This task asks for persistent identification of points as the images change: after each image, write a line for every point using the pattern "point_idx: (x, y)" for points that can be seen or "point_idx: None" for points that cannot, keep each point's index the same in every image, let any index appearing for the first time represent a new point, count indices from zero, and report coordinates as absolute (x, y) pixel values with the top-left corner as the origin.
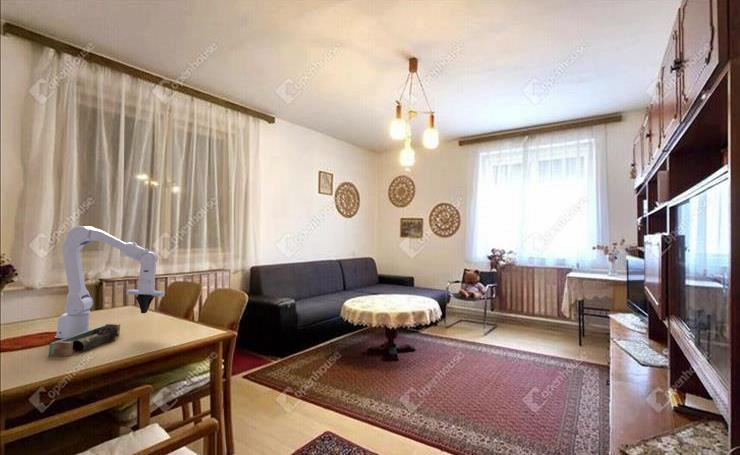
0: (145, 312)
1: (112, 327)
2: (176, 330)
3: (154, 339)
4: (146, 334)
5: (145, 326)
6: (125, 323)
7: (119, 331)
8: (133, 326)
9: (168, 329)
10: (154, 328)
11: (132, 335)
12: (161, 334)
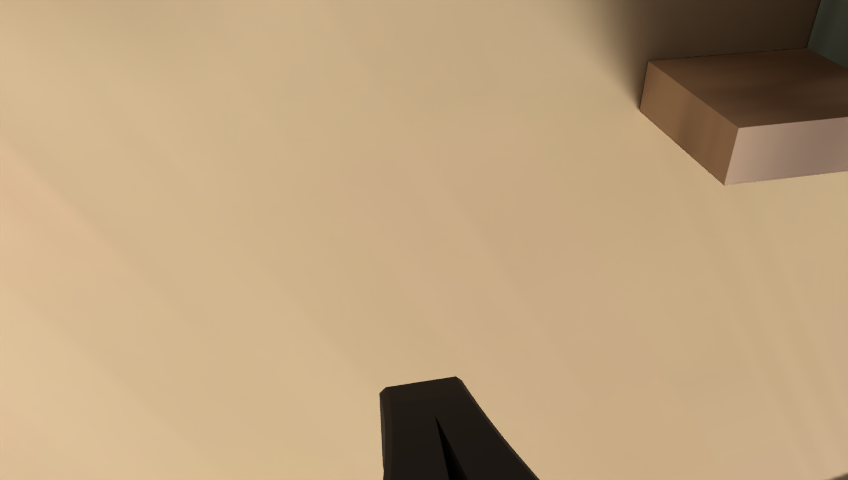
0: (382, 432)
1: (788, 100)
2: (85, 470)
3: (8, 29)
4: (320, 226)
5: None
6: (747, 467)
7: (663, 124)
8: (637, 423)
9: (211, 467)
10: None
11: (468, 134)
12: (126, 284)
